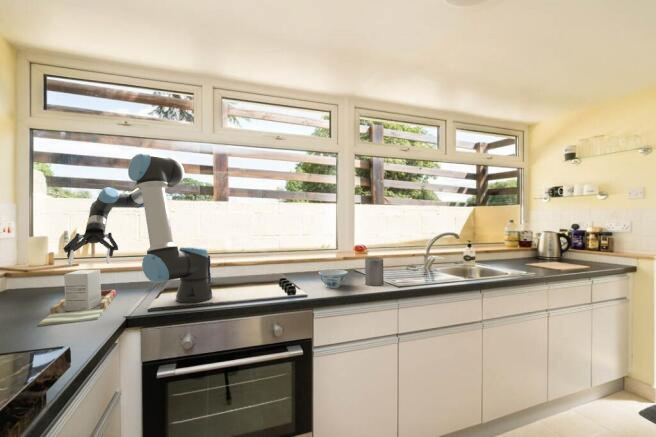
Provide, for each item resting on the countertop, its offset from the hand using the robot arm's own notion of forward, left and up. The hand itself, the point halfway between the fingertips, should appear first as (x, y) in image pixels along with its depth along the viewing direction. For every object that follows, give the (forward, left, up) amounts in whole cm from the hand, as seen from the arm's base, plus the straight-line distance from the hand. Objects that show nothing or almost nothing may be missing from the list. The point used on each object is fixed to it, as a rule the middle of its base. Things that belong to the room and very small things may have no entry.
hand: (89, 262), depth 144 cm
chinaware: (-74, -83, -17) cm, 112 cm away
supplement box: (-10, +5, -17) cm, 20 cm away
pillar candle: (-89, -100, -17) cm, 134 cm away
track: (-10, +5, -17) cm, 20 cm away
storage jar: (-10, -49, -17) cm, 52 cm away
